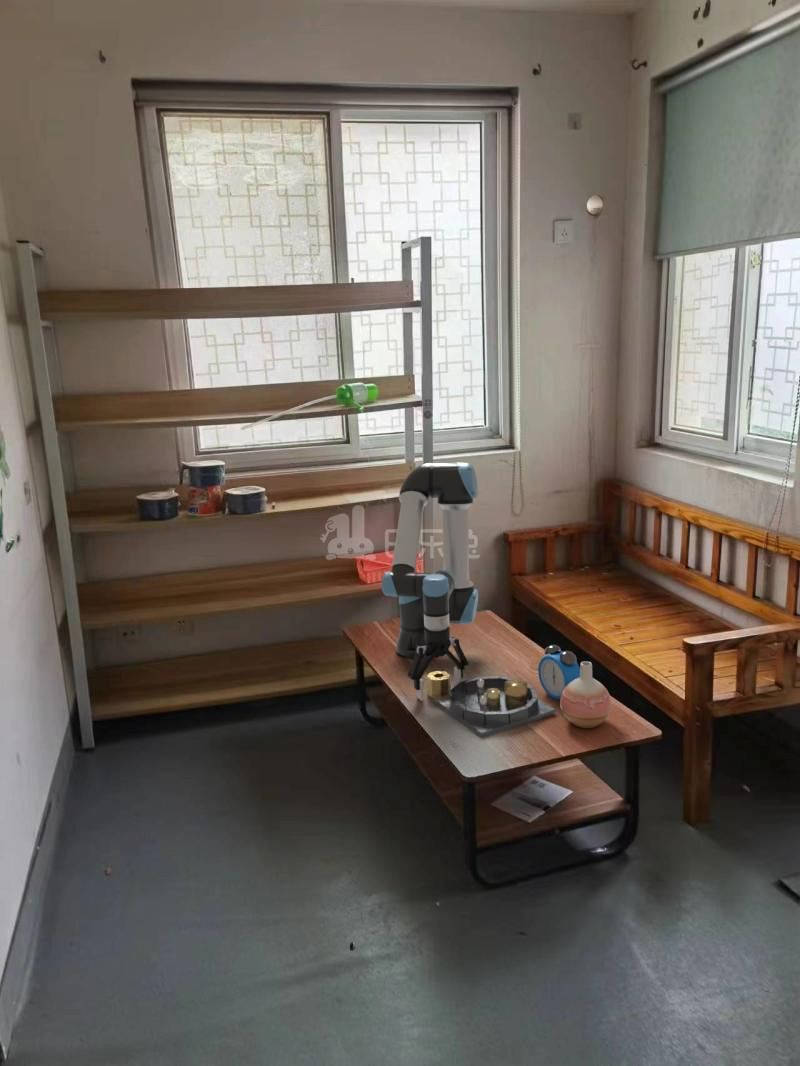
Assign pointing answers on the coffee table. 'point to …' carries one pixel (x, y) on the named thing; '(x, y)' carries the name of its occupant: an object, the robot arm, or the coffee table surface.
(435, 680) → the octagonal brass tube
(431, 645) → the robot arm
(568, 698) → the vase
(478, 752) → the coffee table surface
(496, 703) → the carrier
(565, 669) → the alarm clock
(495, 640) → the coffee table surface
